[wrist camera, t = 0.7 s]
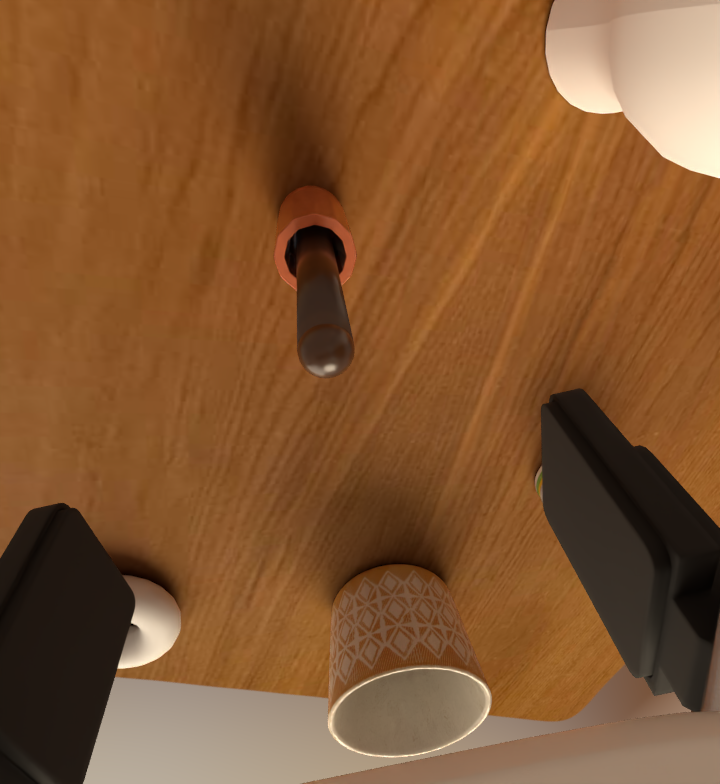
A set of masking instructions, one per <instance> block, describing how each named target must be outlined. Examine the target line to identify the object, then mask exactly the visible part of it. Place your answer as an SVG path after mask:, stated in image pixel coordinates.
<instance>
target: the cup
mask: <svg viewBox="0 0 720 784" xmlns="http://www.w3.org/2000/svg"><path fill="white" fill-rule="evenodd" d="M545 54H546V59H547V64H548V69H549V74H550V76H551V78H552V80H553V82H554V84H555V86H556V88H557V90H558V92H559V93H560V94H561V95H562V96H563V97H564V98H565V99H566V100H567V101H568V102H569V103H570V104H571V105H573V106H575V107H577V108H579V109H581V110H583V111H585V112H592V113H600V114H606V113H616V112H622V111H623V112H624V115H625V117H626V118H627V119H628V120H629V121H630V122H631V123H632V124H633V125H634V126H635V128H636V129H637V130H638V131H639V132H640V133H641V134H642V135H643V136H644V137H645V138H646V139H647V140H648V141H649V142H650V144H651V145H652V146H653V147H654V148H655V149H656V150H657V151H658V152H659V153H660V154H661V155H662V156H663V157H664V158H666V159H668V160H670V161H672V162H674V163H676V164H678V165H681V166H683V167H685V168H687V169H689V170H691V171H695V172H699V173H702V174H706V175H710V176H713V177H717V178H720V0H555V1H554V3H553V5H552V8H551V12H550V16H549V21H548V25H547V29H546V52H545Z"/></svg>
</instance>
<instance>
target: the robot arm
mask: <svg viewBox="0 0 720 784" xmlns="http://www.w3.org/2000/svg"><path fill="white" fill-rule="evenodd" d="M541 437H542V491H543V507H544V511H545V515H546V517H547V520H548V522H549V524H550V525H551V527H552V529H553V531H554V533H555V535H556V537H557V538H558V540H559V542H560V544H561V546H562V548H563V549H564V551H565V553H566V555H567V557H568V559H569V561H570V562H571V564H572V566H573V568H574V570H575V572H576V573H577V575H578V577H579V579H580V581H581V583H582V585H583V586H584V588H585V590H586V592H587V594H588V596H589V597H590V599H591V601H592V603H593V605H594V607H595V609H596V610H597V612H598V614H599V616H600V618H601V620H602V621H603V623H604V625H605V627H606V629H607V631H608V633H609V634H610V636H611V638H612V640H613V642H614V644H615V645H616V647H617V649H618V651H619V653H620V655H621V657H622V658H623V660H624V662H625V664H626V666H627V667H628V669H629V671H630V672H631V673H632V675H633V676H634V677H635V678H640V677H644V678H645V680H646V682H647V684H648V686H649V687H650V689H651V691H652V693H653V695H654V696H656V695H661V694H665V693H671V692H675V694H676V695H677V697H678V699H679V700H680V702H681V704H682V705H683V706H684V707H686V708H688V709H690V710H691V712H683V713H676V714H667V715H660V716H652V717H644V718H636V719H629V720H623V721H618V722H612V723H607V724H601V725H596V726H591V727H585V728H580V729H574V730H569V731H563V732H558V733H552V734H546V735H541V736H535V737H530V738H525V739H520V740H515V741H510V742H505V743H500V744H495V745H490V746H485V747H480V748H475V749H470V750H465V751H460V752H455V753H450V754H445V755H440V756H435V757H430V758H425V759H420V760H416V761H410V762H405V763H401V764H395V765H390V766H385V767H380V768H376V769H370V770H366V771H361V772H356V773H351V774H346V775H341V776H336V777H331V778H327V779H322V780H317V781H312V782H307V783H303V784H720V528H719V527H718V526H717V525H716V524H715V523H714V521H713V520H712V519H711V518H710V517H709V516H708V515H707V514H706V513H705V511H704V510H703V509H702V508H701V507H700V506H699V505H698V504H697V503H696V501H695V500H694V499H693V498H692V497H691V496H690V495H689V494H688V493H687V491H686V490H685V489H684V488H683V487H682V486H681V485H680V484H679V483H678V481H677V480H676V479H675V478H674V477H673V476H672V475H671V474H670V473H669V471H668V470H667V469H666V468H665V467H664V466H663V465H662V464H661V463H660V461H659V460H658V459H657V458H656V457H655V456H654V455H653V454H652V453H651V452H650V451H649V450H648V449H647V448H646V447H643V446H640V445H639V446H635V447H633V446H632V445H631V444H630V443H629V441H628V440H627V439H626V438H625V437H624V436H623V435H622V433H621V432H620V431H619V430H618V429H617V428H616V426H615V425H614V424H613V423H612V422H611V421H610V420H609V418H608V417H607V416H606V415H605V414H604V413H603V411H602V410H601V409H600V408H599V407H598V406H597V405H596V403H595V402H594V401H593V400H592V399H591V398H590V396H589V395H588V394H587V393H586V392H585V391H584V390H583V389H580V388H579V389H575V390H570V391H566V392H561V393H557V394H552V395H551V396H550V399H549V403H546V404H543V405H542V407H541ZM134 611H135V596H134V593H133V591H132V589H131V588H130V586H129V585H128V583H127V582H126V580H125V579H124V577H123V576H122V574H121V573H120V571H119V570H118V568H117V567H116V565H115V564H114V562H113V561H112V559H111V558H110V556H109V555H108V553H107V552H106V551H105V549H104V548H103V546H102V545H101V543H100V542H99V540H98V539H97V537H96V536H95V534H94V533H93V531H92V530H91V528H90V527H89V525H88V524H87V522H86V521H85V519H84V518H83V516H82V515H81V513H80V512H79V511H78V510H77V509H75V508H70V507H69V506H68V505H66V504H64V503H58V504H54V505H49V506H45V507H40V508H35V509H33V510H31V511H29V512H28V514H27V515H26V516H25V518H24V520H23V521H22V523H21V525H20V526H19V528H18V530H17V531H16V533H15V535H14V536H13V538H12V540H11V541H10V543H9V545H8V546H7V548H6V550H5V551H4V553H3V555H2V557H1V558H0V784H83V782H84V779H85V775H86V772H87V768H88V765H89V762H90V759H91V755H92V752H93V748H94V745H95V742H96V738H97V735H98V732H99V728H100V725H101V721H102V718H103V715H104V712H105V708H106V705H107V701H108V698H109V695H110V691H111V688H112V685H113V681H114V678H115V675H116V671H117V668H118V664H119V661H120V658H121V654H122V651H123V648H124V644H125V641H126V638H127V634H128V631H129V628H130V624H131V621H132V617H133V614H134Z"/></svg>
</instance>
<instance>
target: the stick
mask: <svg viewBox="0 0 720 784" xmlns="http://www.w3.org/2000/svg"><path fill="white" fill-rule="evenodd" d="M296 270H297V351H298V356H299V360H300V362H301V364H302V366H303V367H304V368H305V369H306V370H307V371H308V372H309V373H310V374H312V375H314V376H317V377H320V378H333V377H336V376H338V375H340V374H342V373H343V372H344V371H346V370H347V369H348V367H349V366H350V364H351V362H352V360H353V357H354V342H353V337H352V333H351V328H350V323H349V319H348V314H347V309H346V305H345V300H344V295H343V291H342V286H341V281H340V277H339V272H338V267H337V263H336V258H335V253H334V249H333V244H332V239H331V235H330V230H329V228H325V227H321V226H317V225H312V226H309V227H305V228H302V229H299V230H298V231H297V232H296Z"/></svg>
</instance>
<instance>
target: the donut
mask: <svg viewBox="0 0 720 784" xmlns="http://www.w3.org/2000/svg"><path fill="white" fill-rule="evenodd" d="M122 576H123V577H124V579H125V580H126V582H127V583H128V585H129V586H130V588H131V589H132V591H133V593H134V596H135V611H134V614H133V617H132V621H131V623H133V624H135V625H133V626H130V628H129V631H128V634H127V638H126V641H125V644H124V648H123V651H122V654H121V658H120V661H119V664H118V668H130V667H136V666H141V665H144V664H146V663H149V662H151V661H153V660H156V659H157V658H159V657H160V656H162V655H163V654H164V653H165V652H167V651H168V650H169V649H170V648H171V647H172V646H173V644H174V642H175V640H176V638H177V637H178V635H179V632H180V630H181V612H180V610H179V607H178V605H177V603H176V601H175V599H174V598H173V597H172V596H171V595H170V594H169V593H168V592H167V591H166V590H165V589H163V588H162V587H161V586H159V585H157V584H155V583H153V582H151V581H149V580H147V579H143V578H138V577H134V576H128V575H122Z"/></svg>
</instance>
